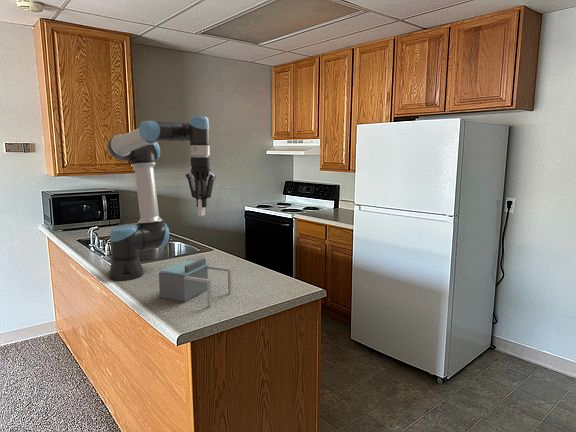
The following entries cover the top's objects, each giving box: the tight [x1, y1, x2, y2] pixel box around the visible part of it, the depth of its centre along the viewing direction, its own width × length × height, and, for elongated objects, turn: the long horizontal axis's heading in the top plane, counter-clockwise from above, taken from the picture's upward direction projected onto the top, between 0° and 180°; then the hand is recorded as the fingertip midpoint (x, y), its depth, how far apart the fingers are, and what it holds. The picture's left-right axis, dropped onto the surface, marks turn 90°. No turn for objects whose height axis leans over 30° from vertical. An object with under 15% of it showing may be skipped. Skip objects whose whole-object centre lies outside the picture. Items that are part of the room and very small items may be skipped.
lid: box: [159, 258, 210, 276], centre depth 165 cm, size 12×16×3 cm
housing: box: [158, 265, 233, 308], centre depth 164 cm, size 23×16×10 cm
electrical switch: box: [187, 254, 206, 261], centre depth 191 cm, size 9×5×9 cm, turn 141°
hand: (201, 215), depth 165 cm, fingers closed
